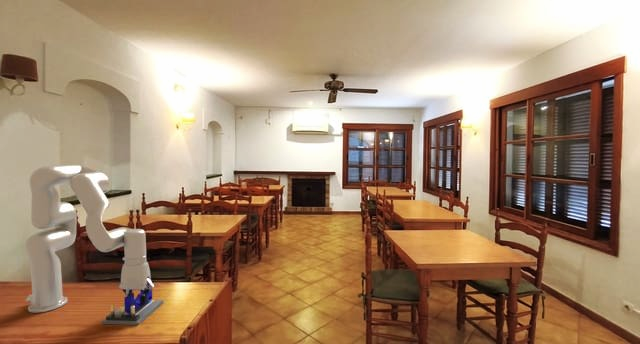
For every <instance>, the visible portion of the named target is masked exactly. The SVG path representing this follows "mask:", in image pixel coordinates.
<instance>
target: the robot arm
mask: <svg viewBox="0 0 640 344" xmlns="http://www.w3.org/2000/svg"><path fill="white" fill-rule="evenodd" d="M109 179H110V178H108V176H107V175H106V174H105V173H104V172H101V171H100V170H96V169H92V168H89V167H87V166H83V165H81V164H80V165H79V164H56V165H55V164H54V165H53V164H52V165H46V166H42V167H39V168H37V169H35V170H33V172H32V173H31V175H30V178H29V187H30V191H31V214H30V215H31V216H30V217H31V224H32V226H33V227H34V228H35V229H38V230H39V229H40V230H43V229H45V230H43V231H39V232H36V233H34V234H32V235H30V236H29V237H28V238H27V239H26V242H25V249H26V250H25V251H26V253H27V257H28V258H29V265H30V266H29V267H30V276H31V278H30V279H31V293H32V294H29V295H28V296H27V297H26V299H25V302H30V305H29V306H28V308H27V310H28V312H30V313H33V314H34V313H35V314H37V313H44V312H50V311H53V310H55V309H58V308H60V307H62V306H64V305H66V304H67V303H68V297H67V296H64V295H63V279H62V278H63V277H62V264H61V259H60V257H59V256H57V254H56V252H57V251H60V250H64V249H66V248H68V247H71V246H72V245H73V244H74V243H75V241H76V238H77V218H78V217H77V214H78V213H77V210H76V208H75V207H74V205H73V204H71V203H69V202H67V201H64V202H63V201H60V194H59V191H58V189H56V187H61V186H62V187H63V186H70V188H71V189H72V191H73V193H74V195H75V196H76V198H77V199H78V201H79V202H80V204H81V206H82V208H83V209H84V211H85V212H86V218H85V231H86V235H87V236H88V239H89V240H90V242H91V243H92V244H93V246H94V247H95V249H97V250H98V251H100V252H101V253H102V252H103V253H108V252H112V251H114V250H116V249H118V248H122V247H124V249H123V250H124V256H123V257H122V258H121V259H122V261H124V263H123V264H122V267H121V272H120V273H121V274H120V284H119V285H118V288H119V289H120V290H122V292H123V293H124V295H125V297H126V296H134V297H135V292H133V291H140V293H141V295H142V296H140V305H141V306H143V305H144V304H145V303H146V302H147V293H148V292H149V291H150V290H151V289H152V290H153V289H154V288H155V287H156V286H155V285H154V283H153V282H152V279H151V270H150V266H149V262H148V261H147V242H146V241H147V239H146V238H147V237H146V235H147V234H146V231H145V230H144V229H142V228H129V227H122V226H121V227H118V228H114V229H111V230H109V231H108V230H107V229H106V227H105V226H104V224H103V220H102V219H103V216H104V215H103V214H104V212H105V211H107V209H108V208H109V207H110V205H111V202H110V200H109V199H108V197H107V196H106V194H105V193H104V191H106V190H107V189H108V188H109V186H110V180H109ZM48 228H50V229H48ZM46 229H47V230H46ZM147 286H149V288H148V289H147Z"/></svg>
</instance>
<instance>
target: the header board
mask: <svg viewBox="0 0 640 344" xmlns="http://www.w3.org/2000/svg"><path fill="white" fill-rule="evenodd" d="M163 304H164V300H161V299H159V300H157V299H152V300H150V301H149V302H147V303H146V304H144V305H143V306H141V307H140V308H139V309H137V310H136V311H135V315H140V319H138V320H137V321H121V320H106V317H105V318H104V319H103V320H102V324H103V325H104V324H105V325H106V324H107V325H128V326H129V325H133V326H140V324H141V323H142V322H144V321H145V320H146V319H147V318H148V317H149V316H151V314H153V313H154V312H155V311H156V310H157V309H159V307H161V306H162V305H163ZM123 305H124V309H125V304H123ZM114 311H115V314H119V315H121V307H119V308H117V309H116V310H114ZM125 315H131V313H125Z"/></svg>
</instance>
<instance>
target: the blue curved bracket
mask: <svg viewBox="0 0 640 344" xmlns="http://www.w3.org/2000/svg"><path fill="white" fill-rule="evenodd" d="M148 288H149V286H147V289H148ZM140 296H142V295H141V292H140V293H139V292H138V294H137V295H136V297H135V295H134V296H126V295H125V296H124V299H123V300H124V301H123V302H124V305H125V313H131V306H133V305H134V306H135V311H136V310H137V309H139V308H140V307H141V305H140ZM150 300H153V289H151V290H150V291H149V292H148V293H147V302H149V301H150ZM147 302H146V303H147ZM146 303H145V304H146Z"/></svg>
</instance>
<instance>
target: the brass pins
mask: <svg viewBox="0 0 640 344" xmlns="http://www.w3.org/2000/svg"><path fill="white" fill-rule="evenodd" d="M124 305H125V304H122V305H120V308H121V315H119V314H115V311H116V310H115V304H110V305H109V306H110V314H108V315H107V316H105V318H106V320H121V321H137V320H138V319H140V315H135V306H134V305H133V306H131V315H125V309H124Z"/></svg>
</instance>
